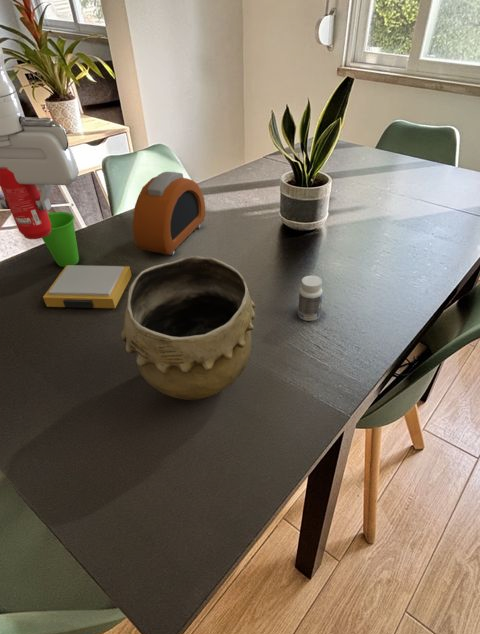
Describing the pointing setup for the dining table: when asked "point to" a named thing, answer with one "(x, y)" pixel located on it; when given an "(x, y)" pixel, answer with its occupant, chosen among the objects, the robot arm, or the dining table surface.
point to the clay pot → (189, 326)
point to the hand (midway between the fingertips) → (26, 208)
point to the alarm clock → (167, 212)
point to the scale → (88, 286)
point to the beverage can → (24, 206)
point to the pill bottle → (310, 298)
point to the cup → (62, 239)
